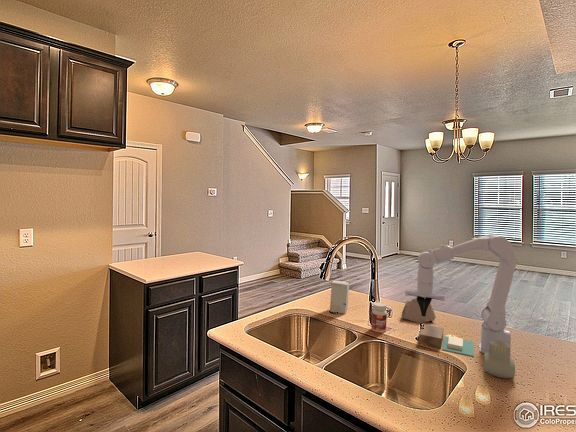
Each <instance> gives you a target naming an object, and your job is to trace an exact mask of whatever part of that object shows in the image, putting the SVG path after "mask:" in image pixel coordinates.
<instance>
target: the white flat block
mask: <svg viewBox="0 0 576 432" xmlns="http://www.w3.org/2000/svg"><path fill="white" fill-rule="evenodd" d="M448 337H449V340H448V347H449V348H454V349H459V350H462V349H463V340H464V338H462V337H461V338H460V337H455V336H450V335H449V336H448Z"/></svg>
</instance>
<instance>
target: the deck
mask: <svg viewBox="0 0 576 432" xmlns="http://www.w3.org/2000/svg"><path fill="white" fill-rule="evenodd" d="M422 325H424V327H425V328H424V329H421V328H420V331H419V334H418V345H421V344H423V345H422V346H425V345H426V346H425V347H431V348H436V349H440V350H442V347H443V341H444V328H443V327H440V326H435V325H434V326H433V325H428V324H422Z"/></svg>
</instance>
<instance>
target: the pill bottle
mask: <svg viewBox="0 0 576 432" xmlns="http://www.w3.org/2000/svg"><path fill="white" fill-rule="evenodd" d="M387 315H388V313H387V304H385V303H383V302H374V303H373V309H372V312H371V330H372V331H374V332H375V333H385V332H386V331H387Z"/></svg>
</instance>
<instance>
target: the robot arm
mask: <svg viewBox="0 0 576 432" xmlns="http://www.w3.org/2000/svg"><path fill="white" fill-rule="evenodd" d="M427 250H428V251H422V252H420V254H418V257H417V261H418V266H417V267H418V269H417V284H416V285H417V287H416V290H414V289H412V290H411V289H405V291H404V292H405V293H404V294H405V296H406V297H408V296H410V297H415V298H417V302H418V304H419V306H420V309H421V314H422V316H426V311H427V308H428V306H429V304H431V302H432V300H437V301H441V302H445V300H446V297H445V294H439V293H435V292H433V289H434V266H435V265H438V264H441V263H445V262H447V261H451V260H454V258H455V257H456V255H460V254H463V253H466V252H467V253H468V252H471V251H475V250H482V251H483V250H484V251H487V252H488V251H490V252H491V253H493V254H494V255H495V257H496V258H497V260H498V261H499V264H498V267H497V271H496V275H495V279H494V282H493V287H492V290H491V294H490V298H489V300H488V302H487V303H486V305H485V307H484V308H483V309H482V310H481V312H480V313H481V318H482V320H483V322H482V323H481V332H480V334H481V335H480V337H481V338H480V342H479V344H478V347H479V348H478V349H479V352H480V353H482V354H485V353H488V352H489V345H490V342H491V341H494V340H495V341H502V342H505V343H507V344H509V345H510V346H511V341H512V339H511V337H512V336H511V335H512V334H511V331H510V330H507V329H505V328H506V326H507V320H506V315H507V312H506V303H507V300H508V296H509V293H510V289H511V285H512V282H513V279H514V278H513V277H514V273H515V270H516V266H517V263H518V259H517V256H516V253H515V250H514V249H513V244H512V243H511V242H510V241H509V240H508V239H507V238H505V237H504V236H500V235H498V234H494V233H491V234H488V235H481V236H479V237H475V238H473V239H470V240H467V241H465V242H461V243H459V244H455V245H454V246H451V245H448V244H440V247H436V248H434V249H431V248H430V249H427Z"/></svg>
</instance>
